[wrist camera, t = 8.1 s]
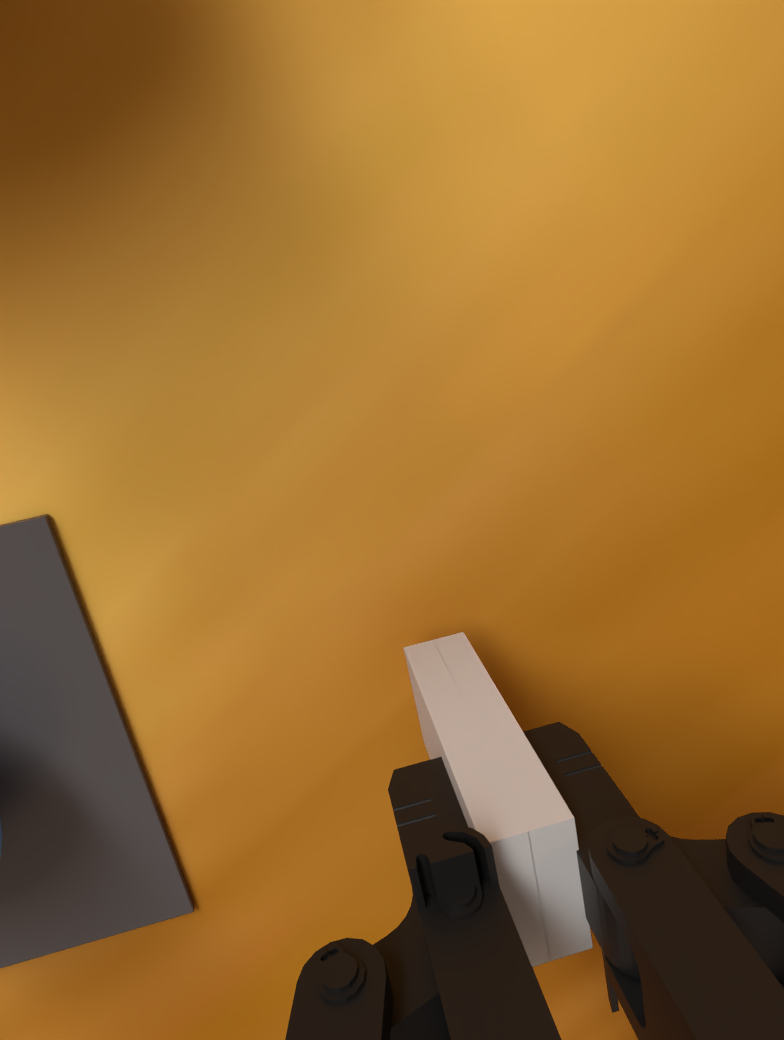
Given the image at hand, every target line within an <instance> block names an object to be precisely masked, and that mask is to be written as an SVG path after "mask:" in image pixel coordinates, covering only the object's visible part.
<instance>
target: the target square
mask: <svg viewBox="0 0 784 1040" xmlns="http://www.w3.org/2000/svg"><path fill="white" fill-rule="evenodd" d="M0 820H1V828H2V850H1V859H0V968H3V967H6V966H10V965H13V964H17V963H20V962H23V961H27V960H30V959H34V958H37V957H41V956H44V955H47V954H51V953H54V952H58V951H61V950H65V949H68V948H71V947H75V946H78V945H82V944H85V943H89V942H92V941H95V940H99V939H102V938H106V937H109V936H113V935H116V934H119V933H123V932H126V931H130V930H133V929H136V928H140V927H143V926H147V925H150V924H154V923H157V922H160V921H164V920H167V919H171V918H174V917H178V916H181V915H184V914H188V913H191V912H194V904H193V902H192V899H191V896H190V894H189V891H188V888H187V886H186V883H185V880H184V878H183V875H182V872H181V870H180V867H179V864H178V862H177V859H176V856H175V854H174V851H173V848H172V846H171V843H170V840H169V838H168V835H167V832H166V830H165V827H164V824H163V822H162V819H161V816H160V814H159V811H158V808H157V806H156V803H155V800H154V798H153V795H152V792H151V790H150V787H149V784H148V782H147V779H146V776H145V774H144V771H143V768H142V766H141V763H140V760H139V758H138V755H137V752H136V750H135V747H134V744H133V742H132V739H131V736H130V734H129V731H128V728H127V726H126V723H125V720H124V718H123V715H122V712H121V710H120V707H119V704H118V702H117V699H116V696H115V694H114V691H113V688H112V686H111V683H110V680H109V678H108V675H107V672H106V670H105V667H104V664H103V662H102V659H101V656H100V654H99V651H98V648H97V646H96V643H95V640H94V638H93V635H92V632H91V630H90V627H89V624H88V622H87V619H86V616H85V614H84V611H83V608H82V606H81V603H80V600H79V598H78V595H77V592H76V590H75V587H74V584H73V582H72V579H71V576H70V574H69V571H68V568H67V566H66V563H65V560H64V558H63V555H62V552H61V550H60V547H59V544H58V542H57V539H56V536H55V534H54V531H53V528H52V526H51V523H50V520H49V518H48V515H47V514H46V515H42V516H37V517H33V518H29V519H24V520H20V521H16V522H11V523H7V524H3V525H0Z"/></svg>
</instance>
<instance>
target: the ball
mask: <svg viewBox="0 0 784 1040" xmlns="http://www.w3.org/2000/svg"><path fill="white" fill-rule="evenodd" d="M1 850H2V828H1V820H0V859H1Z"/></svg>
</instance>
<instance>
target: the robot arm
mask: <svg viewBox="0 0 784 1040" xmlns="http://www.w3.org/2000/svg"><path fill="white" fill-rule="evenodd" d="M404 652H405V657H406V662H407V666H408V671H409V675H410V680H411V685H412V689H413V694H414V698H415V703H416V707H417V712H418V717H419V721H420V726H421V730H422V735H423V740H424V743H425V746H426V749H427V752H428V755H429V757H430V760H427V761H424V762H420V763H417V764H413V765H410V766H406V767H402V768H399V769H395V770H394V771H393V775H392V778H391V781H390V785H389V788H388V791H389V795H390V799H391V803H392V807H393V811H394V816H395V820H396V824H397V828H398V832H399V836H400V840H401V844H402V848H403V853H404V857H405V861H406V865H407V869H408V873H409V877H410V881H411V885H412V890H413V898H412V903H411V907H410V909H409V911H408V913H407V915H406V917H405V918H404V920H403V921H402V922H401V923H400V925H399V926H398V927H397V928H396V929H395V930H393V931H392V932H391V933H390V934H388V935H387V936H386V937H384V938H383V939H381V940H380V941H378V942H377V943H375V944H374V945H372V944H370V943H368V942H366V941H365V940H363V939H353V938H345V939H341V940H337V941H333V942H330V943H329V944H327V945H325V946H324V947H322V948H321V949H319V950H318V951H316V952H315V953H314V954H313V955H312V957H311V958H310V959H309V960H308V961H307V962H306V964H305V965H304V966H303V969H302V971H301V974H300V976H299V979H298V981H297V985H296V990H295V995H294V1000H293V1005H292V1010H291V1015H290V1020H289V1024H288V1029H287V1034H286V1039H285V1040H561V1038H560V1035H559V1033H558V1030H557V1028H556V1025H555V1023H554V1020H553V1018H552V1015H551V1013H550V1010H549V1008H548V1005H547V1003H546V1000H545V998H544V995H543V993H542V990H541V988H540V985H539V983H538V981H537V978H536V976H535V973H534V971H533V968H532V967H534V966H537V965H540V964H543V963H546V962H550V961H553V960H556V959H559V958H562V957H565V956H569V955H572V954H575V953H578V952H581V951H584V950H588V949H591V948H593V946H592V939H591V932H590V927H591V929H592V931H593V933H594V935H595V937H596V939H597V940H598V942H599V944H600V946H601V948H602V953H603V961H604V968H605V975H606V982H607V990H608V997H609V1001H610V1005H611V1009H612V1013H613V1012H616V1011H619V1007H618V1000H619V1002H620V1004H621V1006H622V1008H623V1010H624V1012H625V1014H626V1016H627V1018H628V1020H629V1022H630V1024H631V1026H632V1028H633V1030H634V1032H635V1034H636V1036H637V1038H638V1040H784V816H783V815H779V814H774V813H770V812H765V813H750V814H747V815H744V816H741V817H738V818H737V819H736V820H735V821H734V822H733V823H732V824H730V825H729V826H728V830H727V834H726V839H722V840H688V839H679V838H675V837H671V836H669V835H668V834H667V833H666V832H665V831H664V830H663V829H661V828H660V827H659V826H658V825H656V824H654V823H652V822H649V821H647V820H645V819H642V818H640V817H639V816H638V815H637V813H636V812H635V810H634V809H633V808H632V806H631V805H630V804H629V802H628V801H627V799H626V798H625V797H624V795H623V794H622V792H621V791H620V790H619V788H618V787H617V786H616V784H615V783H614V781H613V780H612V779H611V777H610V776H609V775H608V773H607V772H606V770H605V769H604V768H603V767H601V763H600V762H599V761H598V759H597V758H596V757H595V755H594V754H592V752H591V750H590V748H589V747H588V746H587V744H586V743H585V741H584V740H583V739H582V737H581V736H580V734H579V733H577V732H575V731H574V730H572V729H570V728H568V727H567V726H565V725H563V724H562V723H560V722H557V723H553V724H550V725H546V726H543V727H539V728H535V729H532V730H528V731H525V732H523V731H522V729H521V728H520V726H519V724H518V723H517V721H516V719H515V718H514V716H513V714H512V713H511V711H510V709H509V708H508V706H507V704H506V703H505V701H504V699H503V698H502V696H501V694H500V693H499V691H498V689H497V687H496V686H495V684H494V682H493V681H492V679H491V677H490V676H489V674H488V672H487V671H486V669H485V667H484V666H483V664H482V662H481V661H480V659H479V657H478V656H477V654H476V652H475V651H474V649H473V647H472V646H471V644H470V642H469V641H468V639H467V637H466V636H465V634H464V632H461V633H457V634H453V635H450V636H446V637H442V638H438V639H434V640H431V641H427V642H423V643H419V644H415V645H412V646H408V647H404ZM617 998H618V999H617Z"/></svg>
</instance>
